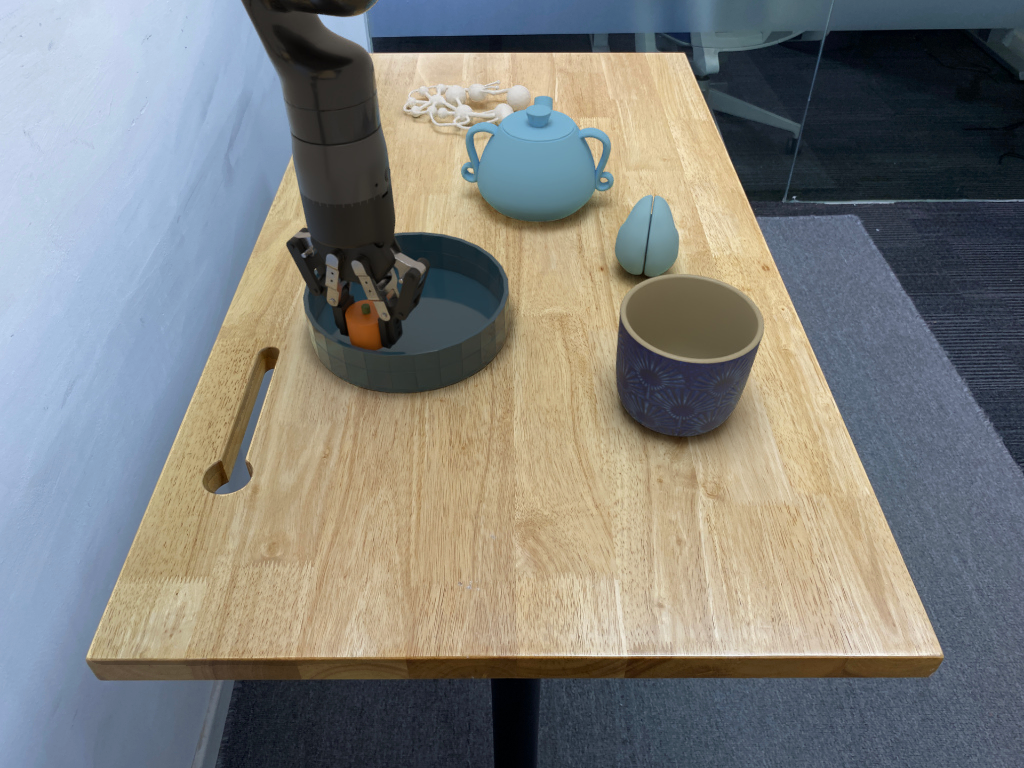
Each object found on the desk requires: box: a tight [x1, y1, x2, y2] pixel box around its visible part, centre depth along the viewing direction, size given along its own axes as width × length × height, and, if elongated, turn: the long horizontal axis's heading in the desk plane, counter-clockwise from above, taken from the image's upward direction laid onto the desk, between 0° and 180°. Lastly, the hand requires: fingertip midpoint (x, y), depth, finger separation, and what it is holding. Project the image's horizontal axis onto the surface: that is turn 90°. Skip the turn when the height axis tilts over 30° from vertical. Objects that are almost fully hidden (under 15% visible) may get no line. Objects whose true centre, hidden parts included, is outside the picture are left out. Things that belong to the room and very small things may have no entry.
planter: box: [615, 273, 765, 437], centre depth 71 cm, size 12×12×11 cm
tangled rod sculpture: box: [402, 79, 532, 131], centre depth 119 cm, size 19×14×4 cm
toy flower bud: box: [614, 194, 680, 278], centre depth 89 cm, size 7×9×12 cm
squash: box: [345, 300, 383, 350], centre depth 74 cm, size 4×4×4 cm
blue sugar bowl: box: [460, 95, 615, 223], centre depth 99 cm, size 20×20×13 cm
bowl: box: [302, 231, 510, 394], centre depth 81 cm, size 21×21×5 cm
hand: (370, 336), depth 75 cm, fingers closed on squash, 4 cm apart
